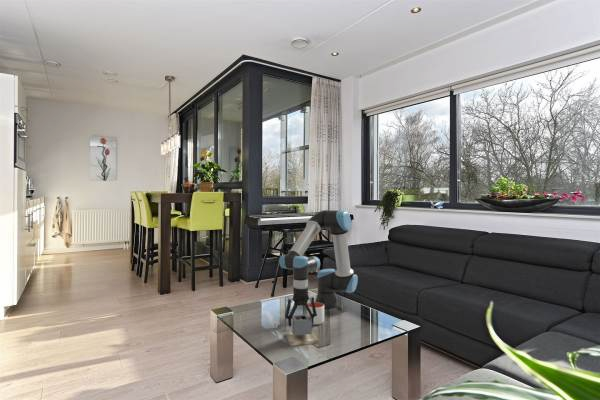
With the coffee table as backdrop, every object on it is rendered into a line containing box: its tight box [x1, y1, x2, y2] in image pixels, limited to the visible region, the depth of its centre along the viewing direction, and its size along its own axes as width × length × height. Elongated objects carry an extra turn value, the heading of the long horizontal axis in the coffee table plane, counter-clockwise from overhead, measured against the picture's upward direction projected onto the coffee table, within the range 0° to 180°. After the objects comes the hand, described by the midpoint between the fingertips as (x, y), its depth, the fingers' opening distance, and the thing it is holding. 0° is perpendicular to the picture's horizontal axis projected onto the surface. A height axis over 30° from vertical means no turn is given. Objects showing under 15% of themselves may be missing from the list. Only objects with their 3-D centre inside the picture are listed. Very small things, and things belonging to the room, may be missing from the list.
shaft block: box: [284, 319, 319, 347], centre depth 181 cm, size 14×14×10 cm
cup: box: [306, 301, 325, 326], centre depth 203 cm, size 10×10×10 cm
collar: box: [292, 313, 313, 336], centre depth 180 cm, size 9×9×7 cm
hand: (300, 330), depth 181 cm, fingers closed on collar, 9 cm apart
